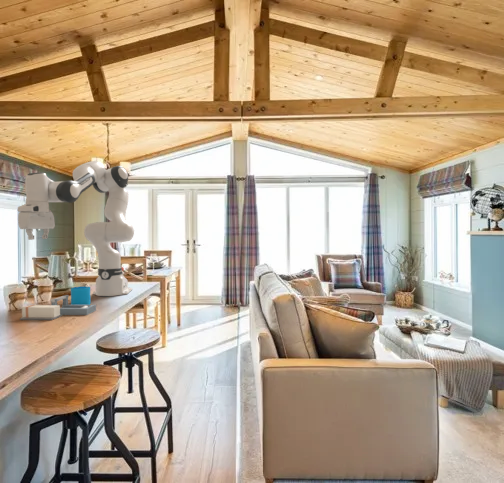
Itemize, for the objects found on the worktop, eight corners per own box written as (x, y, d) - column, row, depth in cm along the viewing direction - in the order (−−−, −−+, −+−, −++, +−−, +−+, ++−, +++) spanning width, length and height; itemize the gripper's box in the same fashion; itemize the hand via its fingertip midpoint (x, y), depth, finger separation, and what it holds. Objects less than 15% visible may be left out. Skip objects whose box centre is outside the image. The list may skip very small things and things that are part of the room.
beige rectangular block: (22, 317, 141) (21, 307, 140) (29, 314, 145) (28, 304, 144) (54, 317, 140) (53, 307, 140) (60, 315, 144) (59, 305, 144)
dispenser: (50, 315, 146) (50, 300, 146) (65, 309, 156) (65, 295, 156) (85, 315, 145) (84, 300, 145) (97, 309, 156) (97, 295, 155)
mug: (86, 307, 161) (86, 289, 161) (68, 307, 161) (67, 289, 160) (96, 301, 173) (96, 284, 173) (79, 301, 173) (78, 285, 172)
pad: (31, 315, 146) (31, 313, 146) (62, 315, 145) (62, 314, 145) (19, 319, 139) (19, 318, 139) (52, 320, 138) (51, 318, 138)
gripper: (45, 209, 169) (46, 238, 170) (14, 207, 149) (15, 240, 150) (58, 209, 169) (58, 238, 170) (29, 207, 149) (30, 240, 149)
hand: (38, 239), depth 159 cm, fingers open, 8 cm apart
